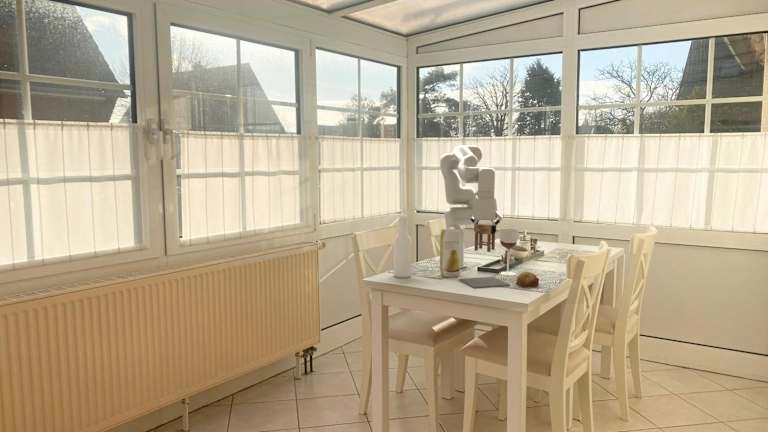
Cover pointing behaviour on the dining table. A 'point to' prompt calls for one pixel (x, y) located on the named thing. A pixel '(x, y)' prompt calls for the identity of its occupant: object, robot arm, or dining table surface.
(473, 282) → the mat
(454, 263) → the juice carton
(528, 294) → the dining table surface
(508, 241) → the wineglass
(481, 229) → the stool
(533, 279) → the bread roll
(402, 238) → the alcohol
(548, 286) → the dining table surface
